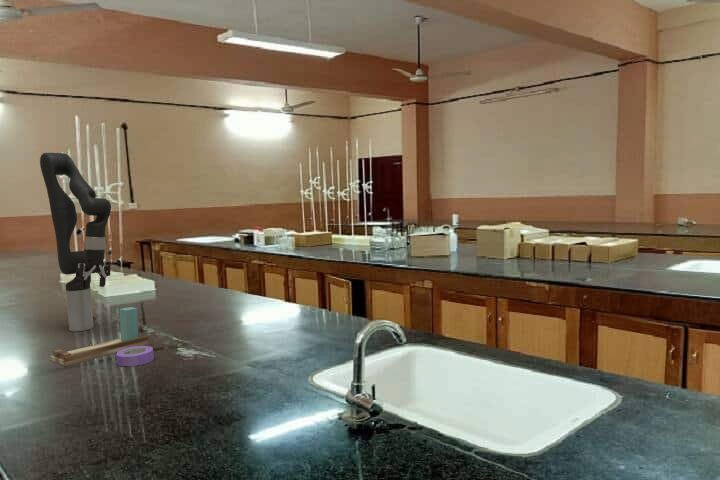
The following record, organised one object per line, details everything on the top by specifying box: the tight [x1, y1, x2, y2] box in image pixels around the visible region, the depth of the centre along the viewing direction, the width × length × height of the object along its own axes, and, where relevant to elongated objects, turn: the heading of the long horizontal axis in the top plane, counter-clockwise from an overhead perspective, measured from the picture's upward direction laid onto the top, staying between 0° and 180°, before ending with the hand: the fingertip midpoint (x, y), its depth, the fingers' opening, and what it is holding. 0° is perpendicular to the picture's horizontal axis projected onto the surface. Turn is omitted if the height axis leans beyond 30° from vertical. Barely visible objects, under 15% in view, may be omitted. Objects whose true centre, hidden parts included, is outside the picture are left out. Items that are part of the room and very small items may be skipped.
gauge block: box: [119, 306, 139, 341], centre depth 204 cm, size 4×4×12 cm
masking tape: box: [115, 345, 155, 367], centre depth 184 cm, size 12×12×4 cm
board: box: [49, 335, 149, 367], centre depth 195 cm, size 12×30×4 cm, turn 143°
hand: (92, 287), depth 216 cm, fingers open, 8 cm apart
